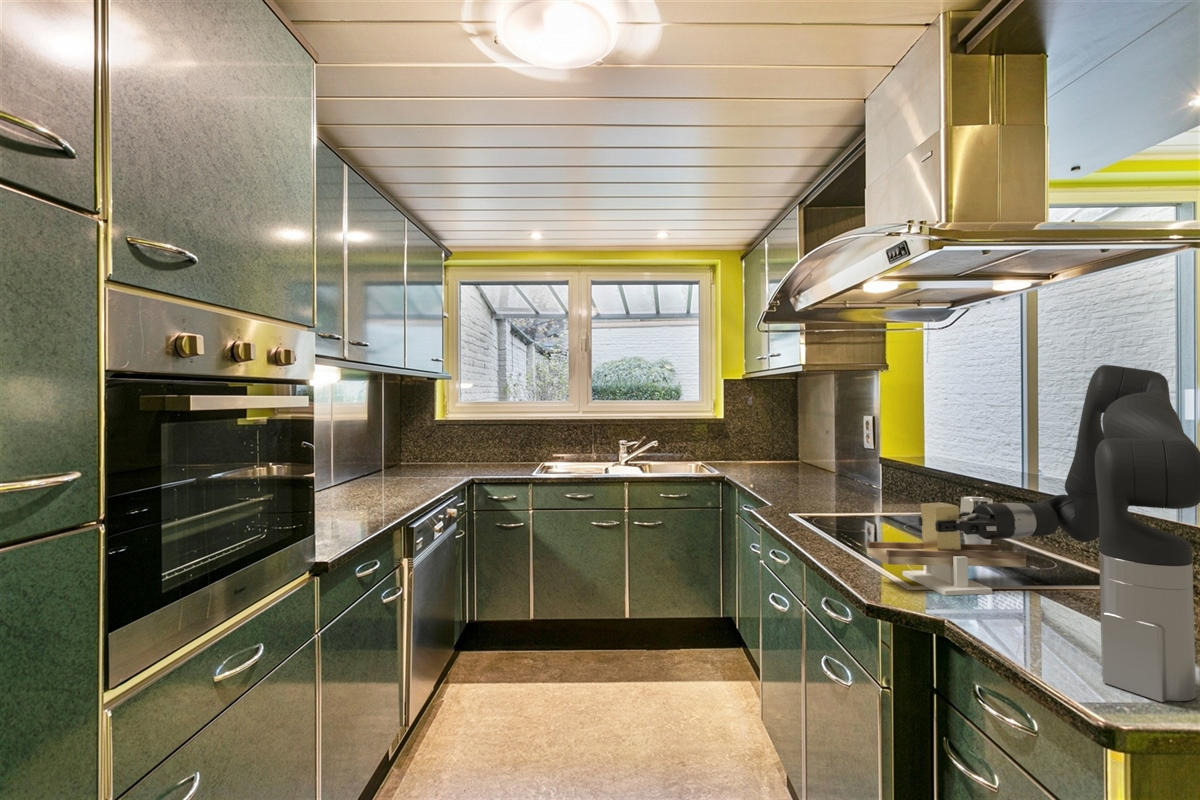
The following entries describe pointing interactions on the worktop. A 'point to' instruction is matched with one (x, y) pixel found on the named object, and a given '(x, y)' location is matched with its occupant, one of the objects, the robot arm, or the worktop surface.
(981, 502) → the beer glass
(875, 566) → the worktop surface
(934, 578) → the beam stand
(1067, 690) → the worktop surface
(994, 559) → the balance beam
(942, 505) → the block
